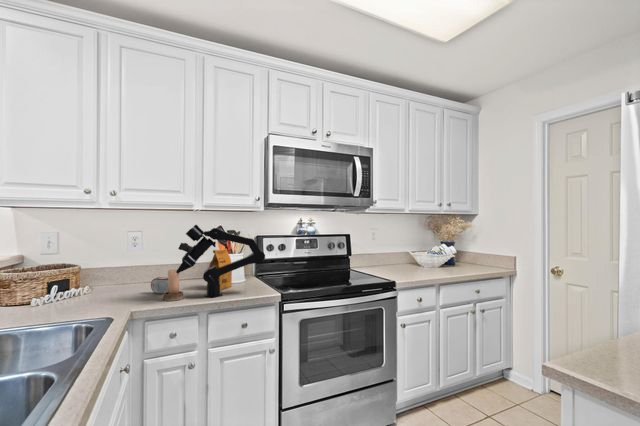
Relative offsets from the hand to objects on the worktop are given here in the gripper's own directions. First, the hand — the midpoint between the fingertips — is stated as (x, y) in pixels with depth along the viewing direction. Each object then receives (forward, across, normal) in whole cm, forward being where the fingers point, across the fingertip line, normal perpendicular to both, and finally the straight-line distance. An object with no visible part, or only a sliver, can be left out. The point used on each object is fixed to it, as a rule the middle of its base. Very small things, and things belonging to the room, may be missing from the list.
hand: (177, 271), depth 163 cm
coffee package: (-4, -19, +24) cm, 31 cm away
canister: (+10, 0, +8) cm, 13 cm away
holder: (+11, 0, +8) cm, 14 cm away
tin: (+15, -15, +4) cm, 22 cm away
